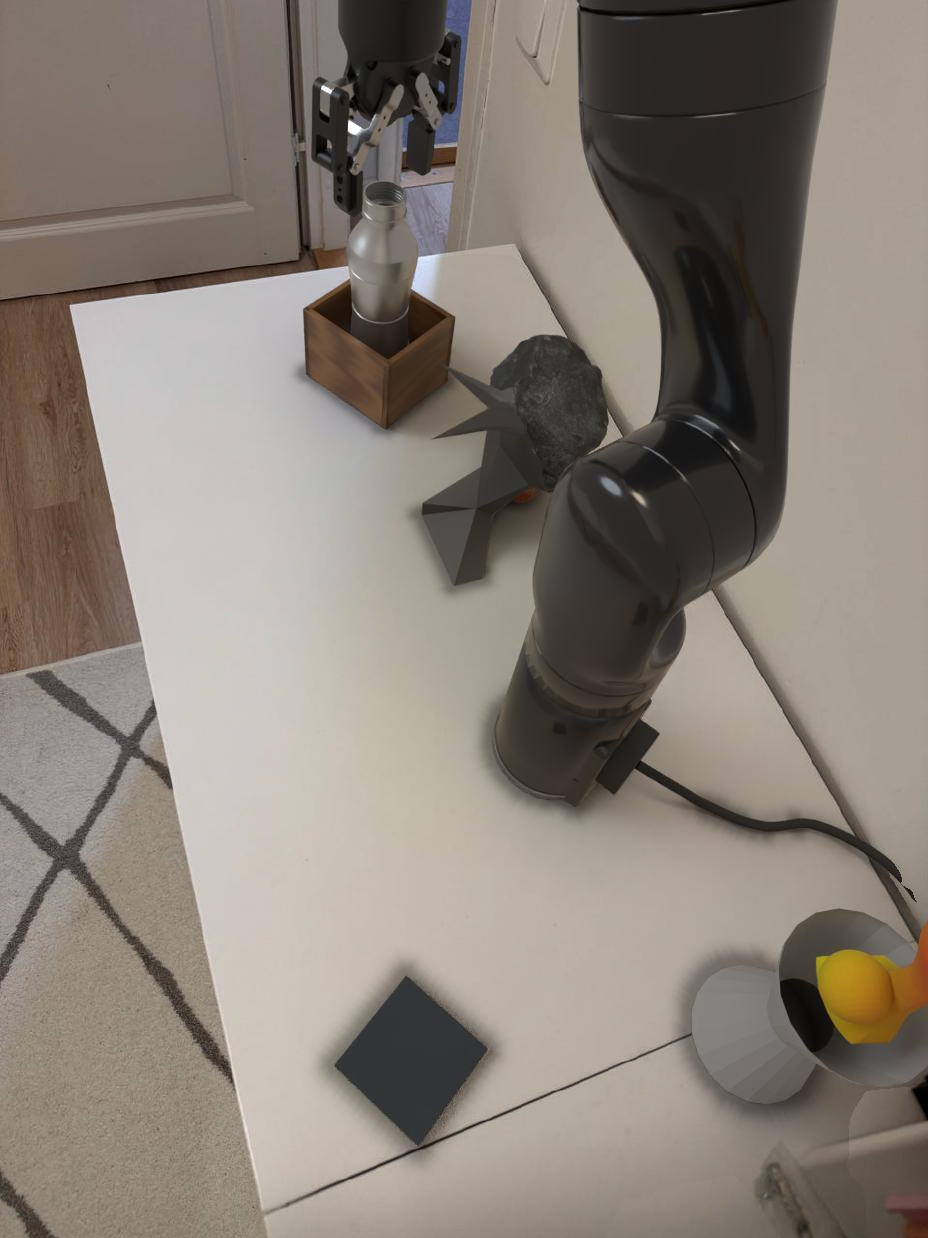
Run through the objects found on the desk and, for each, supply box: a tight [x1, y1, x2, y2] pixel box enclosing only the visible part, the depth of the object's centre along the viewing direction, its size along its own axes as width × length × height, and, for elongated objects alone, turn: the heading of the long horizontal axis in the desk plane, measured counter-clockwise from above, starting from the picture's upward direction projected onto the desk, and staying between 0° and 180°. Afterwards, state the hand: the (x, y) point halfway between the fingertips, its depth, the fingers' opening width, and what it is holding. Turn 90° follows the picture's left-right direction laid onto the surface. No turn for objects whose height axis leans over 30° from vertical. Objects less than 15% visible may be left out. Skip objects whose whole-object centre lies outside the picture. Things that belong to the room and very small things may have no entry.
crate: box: [302, 278, 456, 430], centre depth 87 cm, size 11×10×8 cm
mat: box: [334, 975, 488, 1146], centre depth 57 cm, size 7×7×1 cm
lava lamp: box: [691, 907, 928, 1105], centre depth 46 cm, size 9×9×35 cm
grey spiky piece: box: [421, 333, 610, 587], centre depth 75 cm, size 14×15×18 cm
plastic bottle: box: [345, 179, 420, 360], centre depth 82 cm, size 6×7×20 cm
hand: (384, 189), depth 73 cm, fingers open, 8 cm apart
